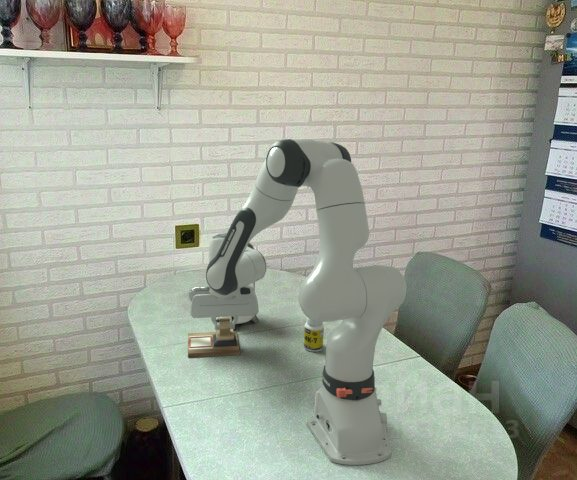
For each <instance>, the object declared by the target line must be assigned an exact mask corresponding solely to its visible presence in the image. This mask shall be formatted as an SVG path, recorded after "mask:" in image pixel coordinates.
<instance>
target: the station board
mask: <svg viewBox="0 0 577 480" xmlns="http://www.w3.org/2000/svg"><path fill="white" fill-rule="evenodd" d="M233 333H234V340H233V341H220V342H218V341H217V340H216V331H212V332H211V331H209V332H190V333H187V357H188V358H198V357H213V356H215V357H216V356H217V357H219V356H230V355H231V356H234V355H240V353H241V351H240V345H239V340H238V333H237V330H235V331H233Z"/></svg>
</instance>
